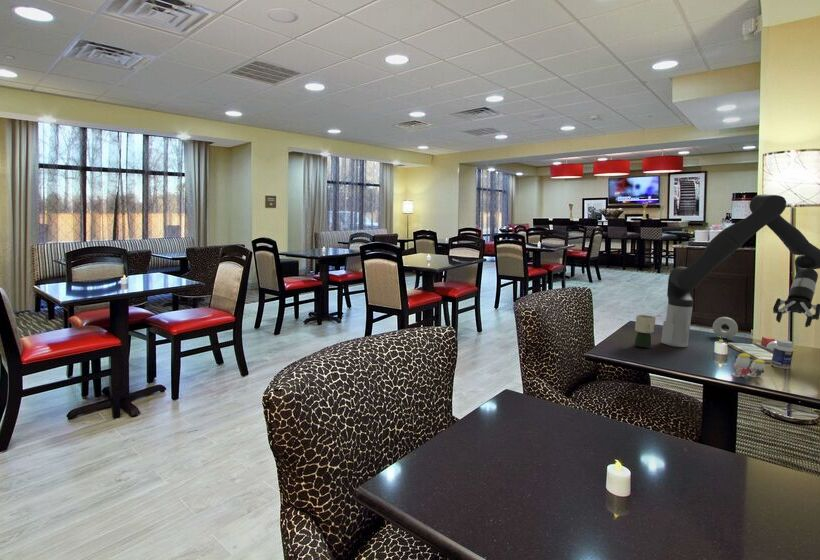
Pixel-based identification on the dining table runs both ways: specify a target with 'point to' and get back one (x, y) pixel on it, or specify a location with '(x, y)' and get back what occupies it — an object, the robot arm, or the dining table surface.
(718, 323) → the donut
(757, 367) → the toy figures
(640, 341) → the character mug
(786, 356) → the pill bottle
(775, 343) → the dice dome
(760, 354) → the game track
